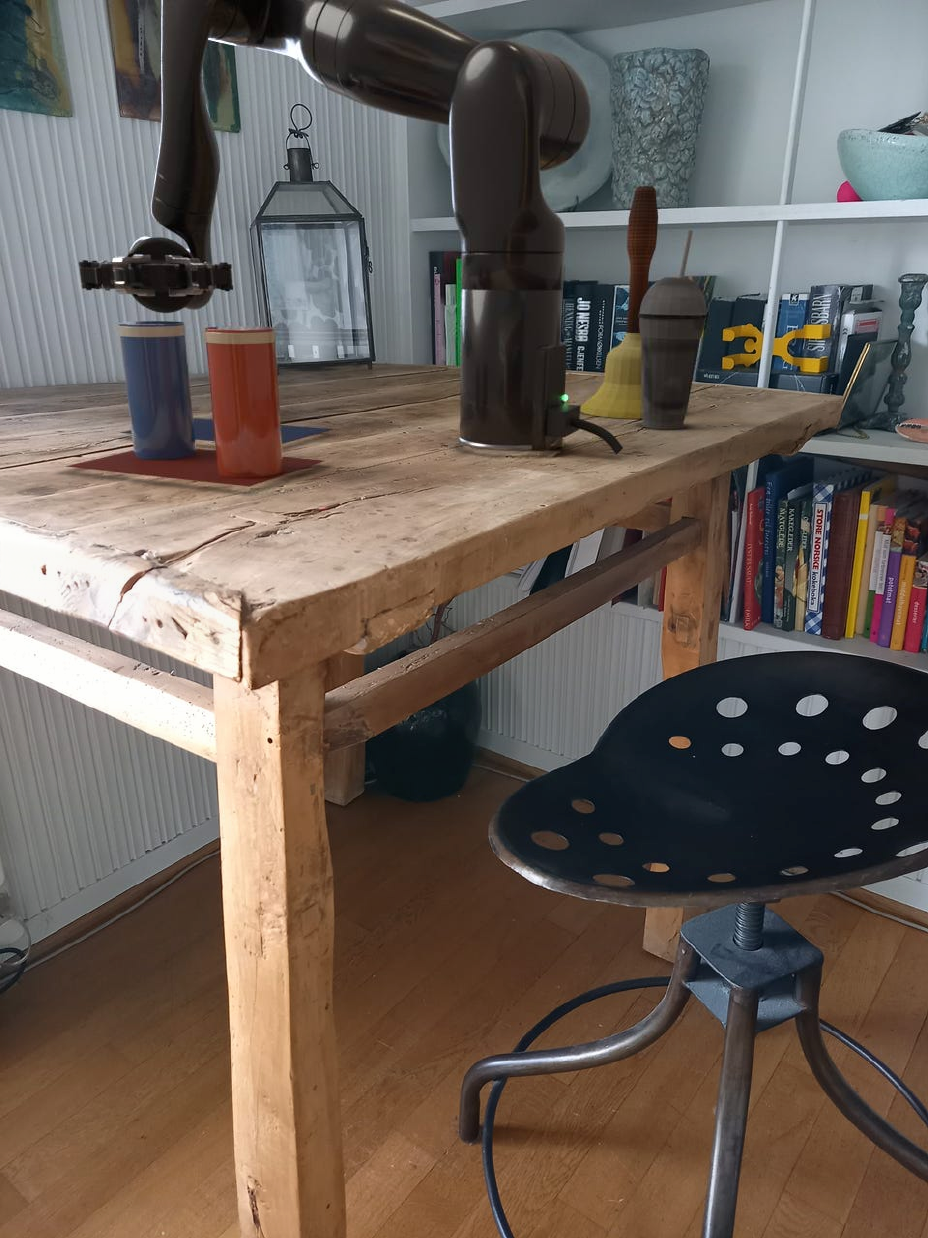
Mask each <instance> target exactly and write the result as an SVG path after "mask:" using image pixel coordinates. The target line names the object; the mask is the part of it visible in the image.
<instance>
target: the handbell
mask: <svg viewBox="0 0 928 1238" xmlns="http://www.w3.org/2000/svg"><path fill="white" fill-rule="evenodd" d="M657 200H658V199H657V191H656V189H655V186H653V185H640V186H637V187H636V188H635V191H634V194H633V199H632V203H631V207H630V210H629V214H628V223H627V237H626V249H627V254H628V260H629V269H630V270H629V272H630V273H629V287H628V290H629V291H628V300H627V317H626V318H627V319H626V331H625V334H624V338H623V340H622V341H621V342H620V343H619V344H618V345H617V346H615V347H613V348H612V349H610V351H609V352H608V353H607V355H606V360H605V366H604V381H603V382H602V384H601V385H600V387H599V389H598V390H597V392H595V394H593V396H591V397H590V398H589V399H587V400H586V401H585V402H583V403H582V405H581V406H580V413H583V414H585V415H590V416H594V417H603V418H611V419H612V418H613V419H630V420H631V419H634V420H643V419H642V388H641V336H640V330H639V318H638V314H639V313H640V307H641V303H642V300H643V298H644V296H645V294H646V293H647V291H648V290H649V277H650V268H651V264H652V260H653V257H654V255H655V251H656V248H657V241H658V229H659V228H658V227H659V210H658V201H657Z"/></svg>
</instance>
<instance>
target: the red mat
mask: <svg viewBox="0 0 928 1238" xmlns="http://www.w3.org/2000/svg"><path fill="white" fill-rule="evenodd" d="M196 451H197V453H196V454H195V455H194V456H191V457H187V458H181V459H172V460H146V459H140V458H136V457H135V455H134V449H133V450H130V451H124V452H120V453H116V454H113V455H106V456H103V457H100V458H95V459H90V460H86V461H82V462H77V463H74V464H70V465H69V464H68V465H66V466H65V467H66V468H76V469H83V470H93V471H102V472H113V473H120V474H130V475H138V476H149V477H159V478H166V479H174V480H175V479H176V480H186V481H195V482H202V483H203V482H204V483H212V484H222V485H230V486H231V485H232V486H241V487H252V486H255V485H258V484H261V483H263V482H267V481H270V480H273V479H276V478H279V477H282V476H284V475H288V474H291V473H294V472H296V471H300V470H302V469H307V468H308V467H311V466H314V465H318V464H320V463H323V462H325V460H324V459H323V460H322V459H312V458H301V457H292V456H291V457H289V456H283V467H284V471H283V472H282V473H280V474H277V475H273V476H267V477H259V478H232V477H225V476H222V475H219V474H218V472H217V462H216V451H215V449H205V448H204V449H203V448H196Z"/></svg>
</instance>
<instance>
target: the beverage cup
mask: <svg viewBox="0 0 928 1238" xmlns="http://www.w3.org/2000/svg"><path fill="white" fill-rule="evenodd" d="M693 232H694V230H693V229H688V230H687V235H686V239H685V246H684V250H683V255H682V260H681V265H680V271H679V276H677V277H674V276H671V277H670V276H669V277H667V276H665V277H663V278H660V279H659V280H657V281H655V282H654V283H653V284H652V285H651V286H650V287H649V288H648V291H647V293H646V294H645V296H644V298H643V300H642V303H641V307H640V313H639V314H638V318H639V330H640V336H641V388H642V419H641V420H642V427H644V428H647V429H655V430H680V429H683V428H684V426H685V421H686V416H687V413H688V409H689V404H690V403H689V402H690V398H691V390H692V386H693V380H694V375H695V370H696V363H697V358H698V353H699V347H700V343H701V341H700V340H701V338H702V337H703V333H704V330H705V326H706V320H707V319H708V315H707V303H706V299H705V296H704V294H703V291H702V290H701V288H700V287H699V285H698V284H697V283H696V282H694V281H693V280H692V279H690V278H688V277H685V274H686V273H685V272H686V268H687V264H688V258H689V254H690V248H691V242H692V237H693Z"/></svg>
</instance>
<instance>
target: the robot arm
mask: <svg viewBox="0 0 928 1238" xmlns="http://www.w3.org/2000/svg"><path fill="white" fill-rule="evenodd" d="M209 41H214V42H218V43H221V44H226V45H231V46H236V47H241V48H249V49H257V50H262V51H268V52H272V53H276V54H278V55H279V54H280V55H283V56H286V57H290V58H292V59H294V60H297V61H298V62H299V63H300V65H301V66H302V67H303V69H304V71H305V72H306V73H307V74H308V75H309V77H311V78H312V79H313V80H314V81H315V82H317V83H318V84H320V85H321V86H322V87H324V88H326V89H327V90H330V91H331V92H333V93H335V94H338V95H339V96H342V97H344V98H347V99H349V100H351V101H353V102H356V103H358V104H361V105H364V106H365V107H369V108H372V109H375V110H379V111H382V112H386V113H390V114H394V115H397V116H401V117H406V118H411V119H415V120H421V121H425V122H431V123H436V124H441V125H444V126H448V131H449V135H448V136H449V159H450V162H449V163H450V179H451V180H450V181H451V185H450V186H451V200H452V201H451V204H452V212H453V217H454V220H455V223H456V225H457V228H458V231H459V235H460V245H461V247H460V248H461V250H460V252H461V254H460V255H461V261H460V262H461V263H460V264H461V265H460V266H461V267H460V277H461V279H460V284H461V285H460V288H461V290H460V379H459V380H460V381H459V382H460V387H459V390H460V392H459V397H460V398H459V399H460V400H459V402H460V403H459V405H460V409H459V410H460V412H459V413H460V417H459V418H460V419H459V420H460V421H459V436H458V442H459V444H460V445H462V446H464V447H467V448H471V449H477V450H485V451H496V452H497V451H498V452H526V451H527V452H528V451H529V452H530V451H535V452H536V451H537V452H545V451H548V450H552V451H553V450H556V449H557V448H559V447H561V446H563V443H564V441H563V440H564V438H566V437H569V436H570V435H572V434H574V433H576V432H578V431H580V430H582V431H583V432H587V433H591V434H593V435H595V436H597V437H598V438H600V439H601V440H603V441H604V442H605V443H606V444H607V445H608V446H609V448H610V449H611V450H612V451H613V453H614V454H615V455H617V454H620V452H621V451H623V449H624V446H622V444H621V443H620V442H619V440H618V439H617V438H616V437H615V436H614V434H612V433H611V432H610V431H609V430H608V429H606V428H604V427H603V426H600V425H598V424H596V423H593V422H590V421H587V420H584V419H582V418H580V416H581V411H580V408H581V405H579V404H565V402H567V400H568V399H569V396H568V395H567V394H566V379H567V378H566V377H567V357H568V356H567V354H568V345H567V343H566V342H563V341H562V340H561V339H562V319H563V318H562V315H563V297H564V295H563V293H564V291H563V289H564V271H565V253H566V251H565V250H566V226H565V223H564V221H563V219H562V218H561V217H560V216H559V215H558V214H557V213H556V212H555V211H554V209H552V208H551V206H550V205H549V204H548V201H547V199H546V198H545V195H544V192H543V189H542V183H541V172H546V171H550V170H553V169H556V168H558V167H560V166H562V165H564V164H565V163H567V162H568V161H569V160H571V159H572V158H574V156H575V155H576V154H577V153H578V152H579V151H580V149H581V148H582V146H583V145H584V143H585V141H586V139H587V137H588V134H589V131H590V127H591V121H592V106H591V101H590V100H591V99H590V96H589V93H588V90H587V87H586V85H585V84H584V81H583V79H582V78H581V76H580V75H579V74H578V73H577V71H576V70H575V69H574V67H573V66H572V65H571V64H569V63H568V62H567V61H566V60H565V59H564V58H562V57H559V56H557V55H556V54H553V53H552V52H548V51H545V50H541V49H539V48H536V47H533V46H530V45H526V44H524V43H519V42H516V41H512V40H507V39H499V38H495V39H490V40H486V41H484V42H483V41H482V40H478V39H475V38H473V37H471V36H469V35H467V34H465V33H463V32H461V31H459V30H457V29H456V28H454V27H452V26H450V25H449V24H447V23H445V22H443V21H442V20H440V19H437V18H436V17H434V16H431V15H430V14H428V13H426V12H424V11H422V10H420V9H418V8H416V7H414V6H411V5H409V4H408V3H405V2H403V1H400V0H161V48H160V50H161V54H160V55H161V56H160V57H161V58H160V59H161V64H160V65H161V71H160V72H161V127H160V139H159V140H160V141H159V147H158V156H157V162H156V169H155V175H154V181H153V182H154V183H153V189H152V196H151V197H152V198H151V202H150V211H151V216H152V218H153V219H154V220H155V222H157V223H158V224H159V225H160V226H162V227H163V228H165V229H166V230H168V231H170V232H171V233H173V234H174V235H176V236H177V237H179V238H180V239H181V240H183V241H184V242H185V244H186V246H187V247H188V248H186V247H185V246H183V245H182V244H180V243H179V242H177V241H175V240H173V239H171V238H168V237H162V236H152V237H149V236H142V237H140V238H138V239H136V241H135V242H133V244H132V245H131V247H130V249H129V251H128V253H127V255H126V256H114V257H113V258H112V261H108V260H103V259H102V260H101V261H98V260H91V261H89V260H88V259H83V260H81V261H78V267H79V275H80V282H81V289H83V290H84V289H85V290H86V291H92V290H94V289H95V290H104V291H109V292H110V291H111V290H115V291H116V293H117V294H119V295H131V296H132V297H133V298H134V300H136V302H137V303H139V304H140V305H141V306H142V307H144V308H146V309H148V310H150V311H152V312H155V313H160V314H173V313H176V312H179V311H181V310H184V309H187V310H192V311H198V310H201V309H203V308H204V307H206V305H208V304H209V302H210V300H211V299H212V296H213V294H214V291H215V290H221V291H224V292H230V291H234V285H233V273H232V270H233V267H232V266H233V265H232V263H228V262H226V261H225V262H219V263H213V256H212V239H211V233H212V222H213V214H214V209H215V203H216V197H217V192H218V187H219V182H220V174H221V155H220V153H221V152H220V148H219V143H218V139H217V136H216V132H215V128H214V125H213V123H212V120H211V116H210V112H209V109H208V105H207V101H206V96H205V90H204V81H203V80H204V79H203V73H204V72H203V71H204V60H205V57H206V56H205V55H206V51H207V45H208V43H209Z"/></svg>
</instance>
